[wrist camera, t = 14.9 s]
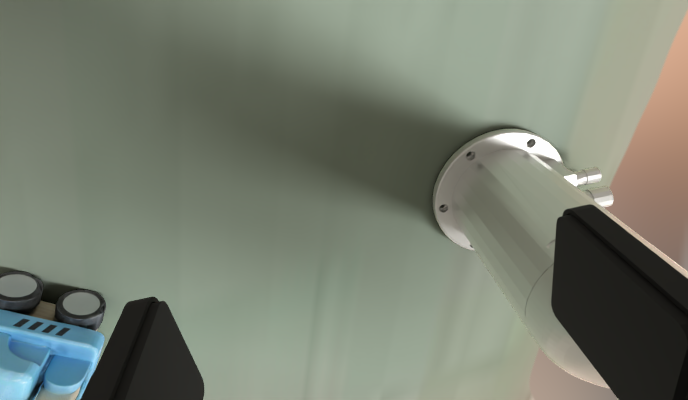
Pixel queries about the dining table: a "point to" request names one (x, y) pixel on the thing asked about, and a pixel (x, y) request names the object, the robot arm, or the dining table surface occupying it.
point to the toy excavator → (47, 340)
